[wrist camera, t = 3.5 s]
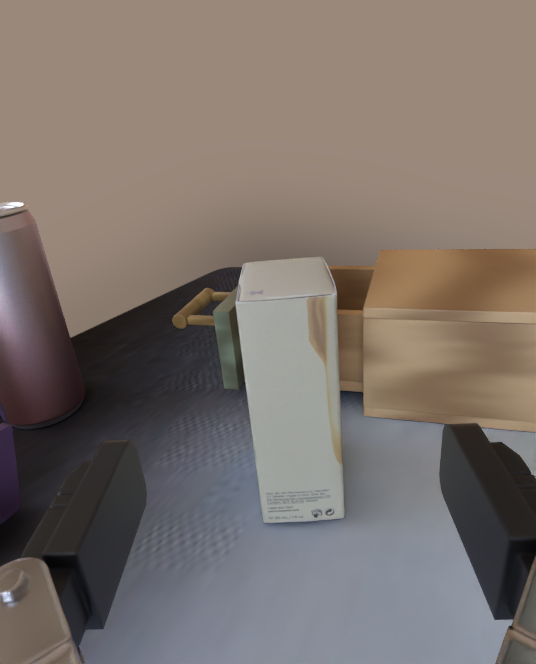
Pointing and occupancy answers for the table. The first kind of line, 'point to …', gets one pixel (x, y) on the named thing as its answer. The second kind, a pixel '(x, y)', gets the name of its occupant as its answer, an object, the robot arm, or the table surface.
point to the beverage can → (32, 330)
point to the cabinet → (452, 337)
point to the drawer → (349, 315)
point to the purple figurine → (8, 474)
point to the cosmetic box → (293, 386)
